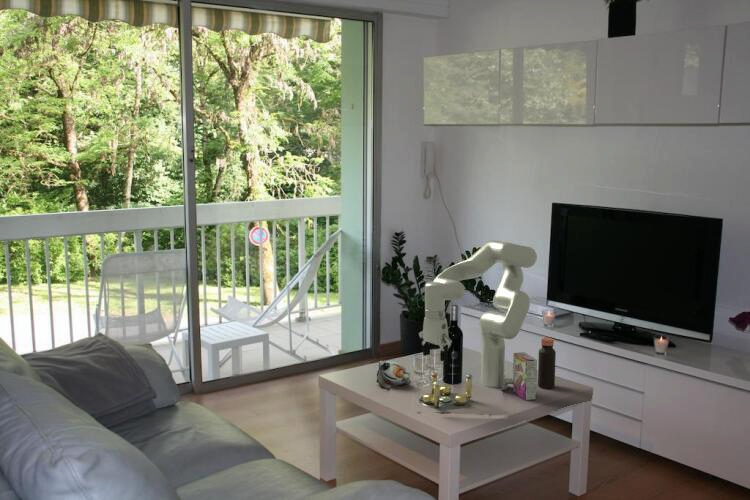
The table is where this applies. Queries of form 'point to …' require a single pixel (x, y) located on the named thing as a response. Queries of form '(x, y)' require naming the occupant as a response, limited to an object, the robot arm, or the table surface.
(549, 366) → the bottle
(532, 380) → the candy bar box
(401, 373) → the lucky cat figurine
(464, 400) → the gold bent piece
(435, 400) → the gold l-shaped fitting
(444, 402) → the tribrach plate
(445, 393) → the gold u-shaped piece
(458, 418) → the table surface
